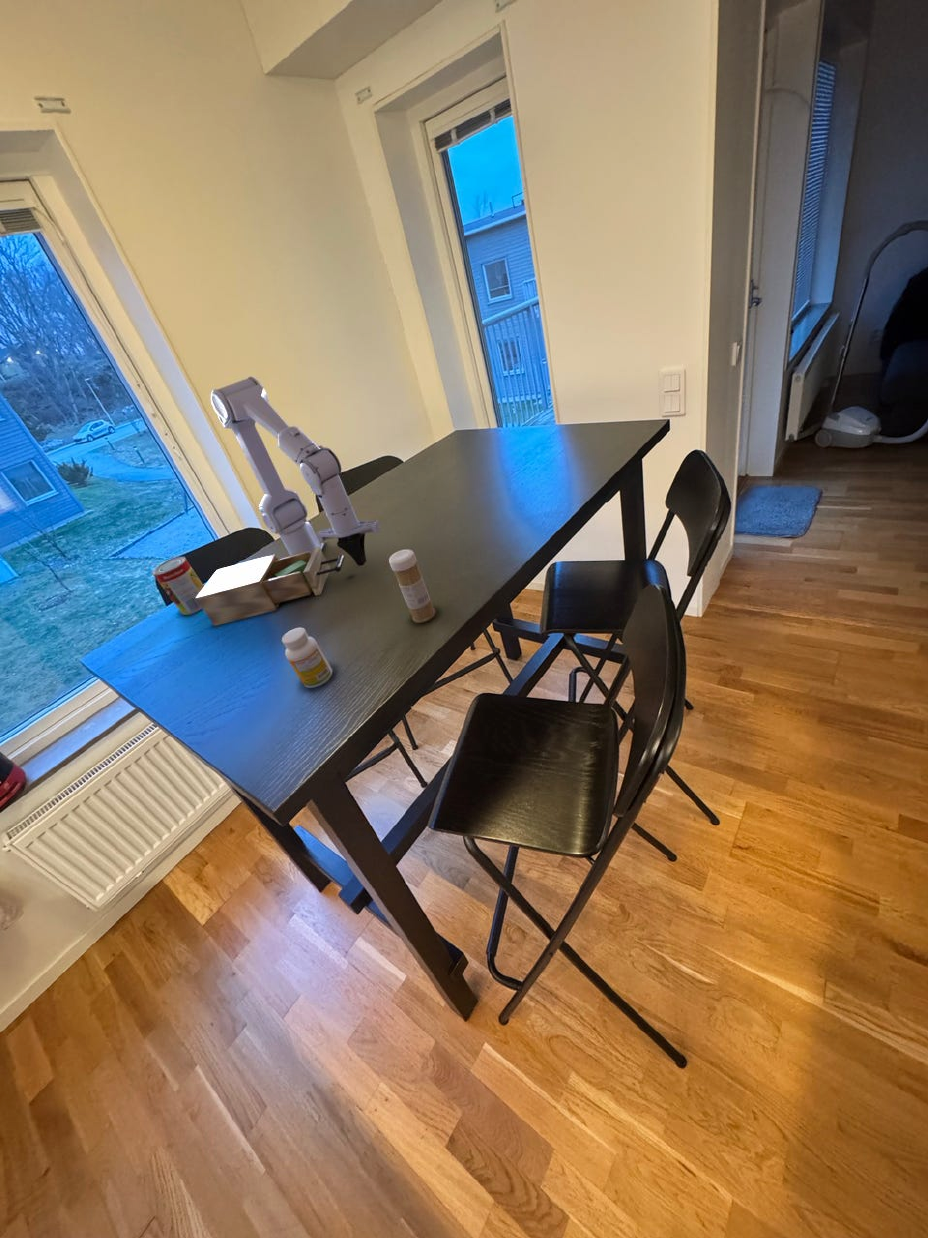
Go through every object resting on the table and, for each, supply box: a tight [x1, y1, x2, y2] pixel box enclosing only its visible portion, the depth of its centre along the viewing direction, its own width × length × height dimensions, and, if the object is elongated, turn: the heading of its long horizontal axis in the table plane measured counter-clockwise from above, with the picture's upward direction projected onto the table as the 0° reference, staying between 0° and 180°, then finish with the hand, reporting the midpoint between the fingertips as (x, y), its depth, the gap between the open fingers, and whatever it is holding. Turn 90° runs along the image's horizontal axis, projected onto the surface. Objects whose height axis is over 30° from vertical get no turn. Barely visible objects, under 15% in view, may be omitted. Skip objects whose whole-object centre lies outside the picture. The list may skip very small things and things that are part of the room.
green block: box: [275, 560, 308, 583], centre depth 112 cm, size 7×3×4 cm, turn 132°
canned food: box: [151, 556, 205, 616], centre depth 119 cm, size 8×8×12 cm
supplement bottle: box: [281, 627, 333, 689], centre depth 82 cm, size 5×5×10 cm
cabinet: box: [195, 553, 281, 627], centre depth 113 cm, size 15×13×8 cm
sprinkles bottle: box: [388, 549, 436, 624], centre depth 88 cm, size 5×5×13 cm
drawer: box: [261, 547, 346, 604], centre depth 112 cm, size 20×12×6 cm, turn 92°
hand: (362, 563), depth 111 cm, fingers closed
